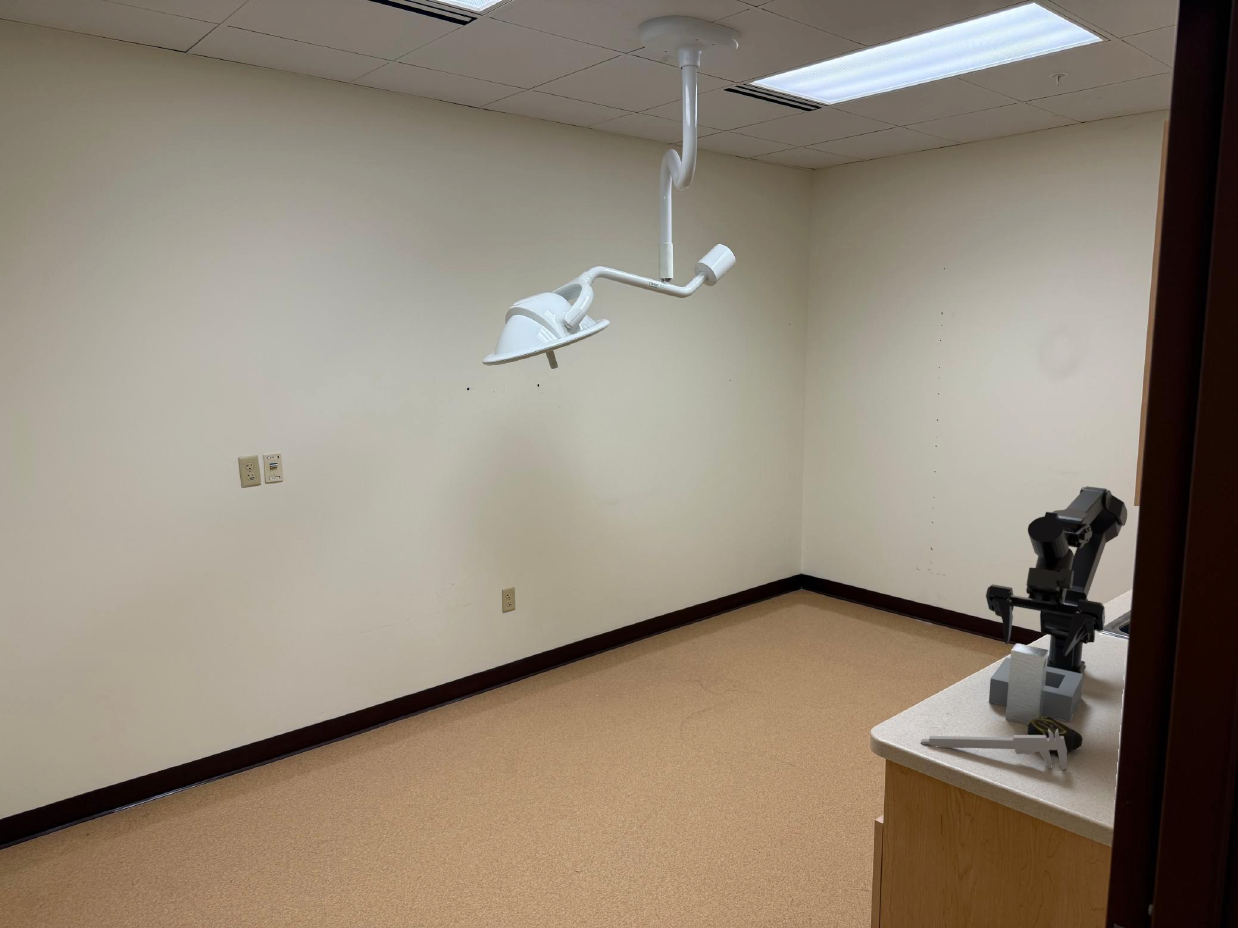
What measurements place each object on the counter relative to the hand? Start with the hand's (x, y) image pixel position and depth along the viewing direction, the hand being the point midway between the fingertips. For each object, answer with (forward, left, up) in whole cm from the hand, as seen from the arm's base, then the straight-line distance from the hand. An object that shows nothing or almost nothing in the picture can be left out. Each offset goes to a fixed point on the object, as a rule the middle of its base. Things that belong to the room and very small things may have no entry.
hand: (1034, 648), depth 147 cm
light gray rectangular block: (+5, 0, -11) cm, 12 cm away
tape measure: (+12, +6, -11) cm, 18 cm away
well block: (-5, 0, -11) cm, 12 cm away
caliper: (+21, -1, -12) cm, 24 cm away
